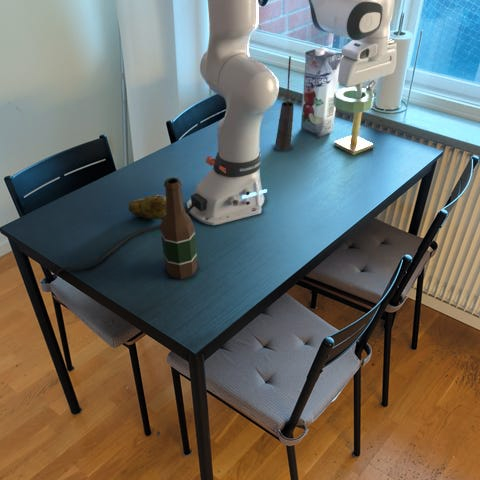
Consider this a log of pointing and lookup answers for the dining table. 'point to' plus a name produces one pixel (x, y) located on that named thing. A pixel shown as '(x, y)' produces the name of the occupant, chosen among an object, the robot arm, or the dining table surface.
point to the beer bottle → (178, 234)
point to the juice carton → (320, 91)
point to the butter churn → (285, 122)
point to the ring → (353, 100)
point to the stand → (354, 138)
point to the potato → (149, 207)
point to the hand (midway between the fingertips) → (364, 95)
